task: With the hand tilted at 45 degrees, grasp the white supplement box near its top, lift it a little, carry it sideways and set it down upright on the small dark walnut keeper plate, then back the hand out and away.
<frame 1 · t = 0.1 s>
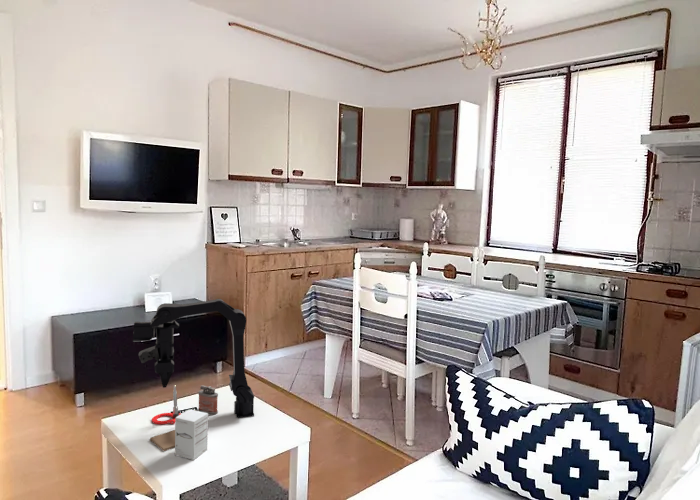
hand: (164, 382, 177), 15 cm above the table, tool pointing down, fingers open, 9 cm apart
red-brown boxy piece: (207, 412, 188), on the table
supplement box: (191, 453, 158), on the table
tow hook: (165, 420, 180), on the table
walnut keeper plate: (171, 440, 165), on the table
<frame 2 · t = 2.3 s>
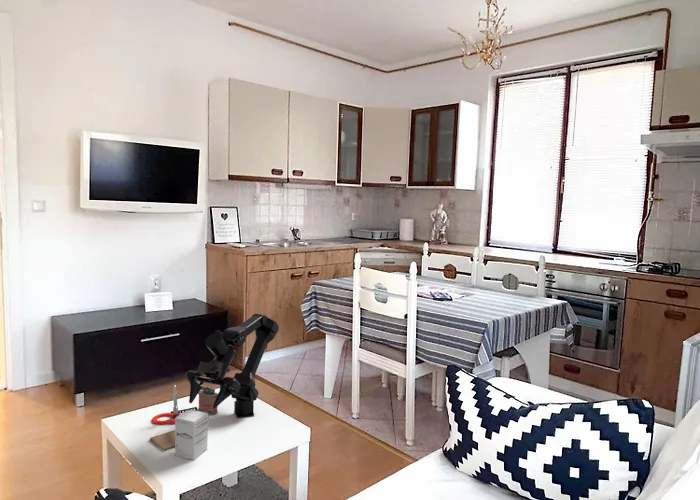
hand: (201, 405, 162), 13 cm above the table, tool tilted 45°, fingers open, 9 cm apart
nothing on the table moved.
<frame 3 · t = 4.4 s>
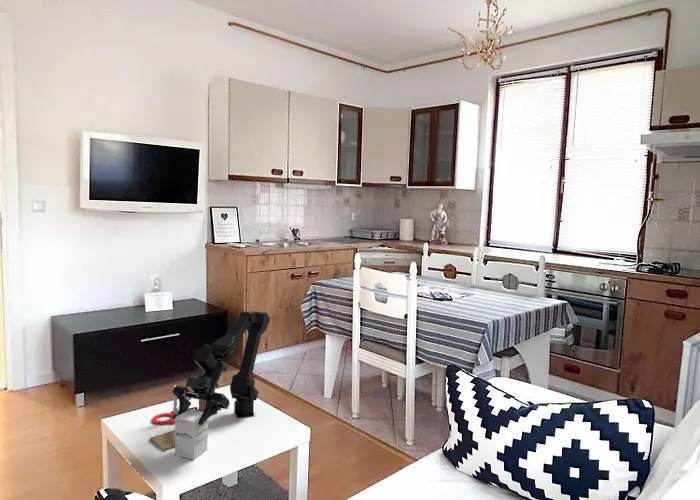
hand: (188, 422, 155), 11 cm above the table, tool tilted 45°, fingers closed on supplement box, 7 cm apart
supplement box: (191, 453, 158), on the table, touching gripper
everything else where it was.
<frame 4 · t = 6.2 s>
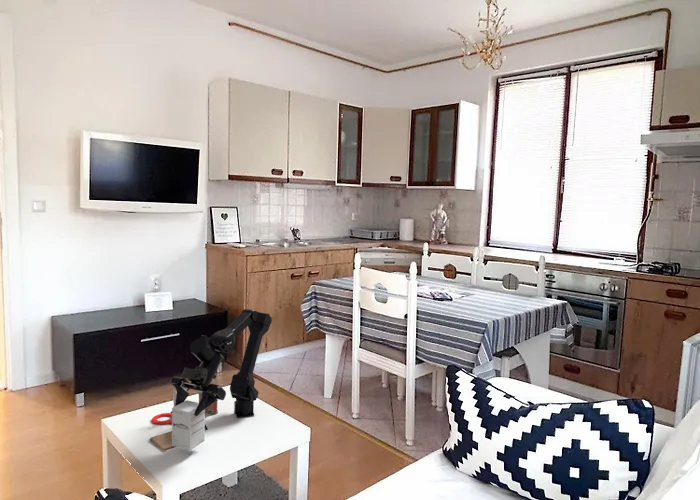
hand: (185, 413, 156), 13 cm above the table, tool tilted 45°, fingers closed on supplement box, 7 cm apart
supplement box: (188, 444, 158), point 2 cm above the table, touching gripper
everything else where it was.
when the fingers open (12 cm above the table, at t = 8.1 s): supplement box stays where it is, resting on walnut keeper plate.
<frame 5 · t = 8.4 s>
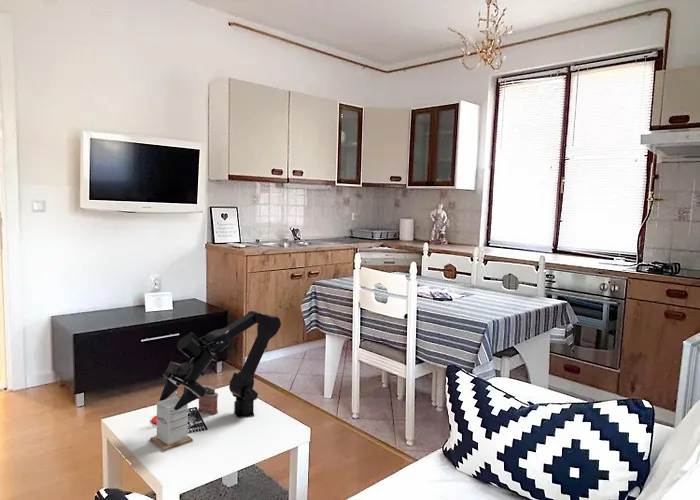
hand: (167, 405, 163), 13 cm above the table, tool tilted 45°, fingers open, 9 cm apart
supplement box: (172, 438, 165), point 1 cm above the table, touching walnut keeper plate
everything else where it was.
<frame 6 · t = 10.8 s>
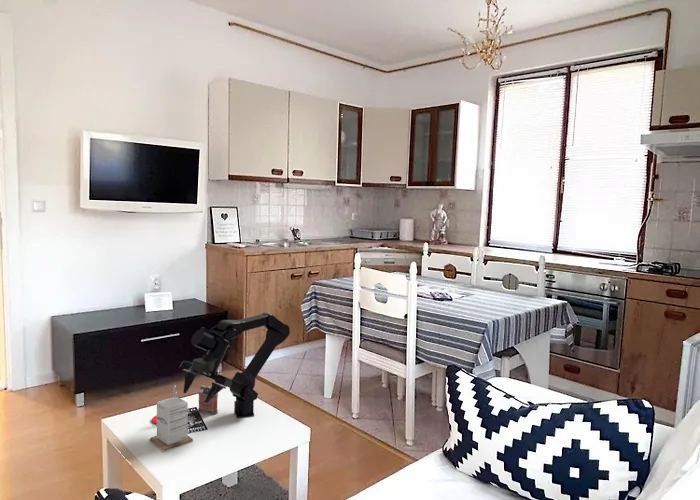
hand: (195, 397, 170), 12 cm above the table, tool tilted 30°, fingers open, 9 cm apart
nothing on the table moved.
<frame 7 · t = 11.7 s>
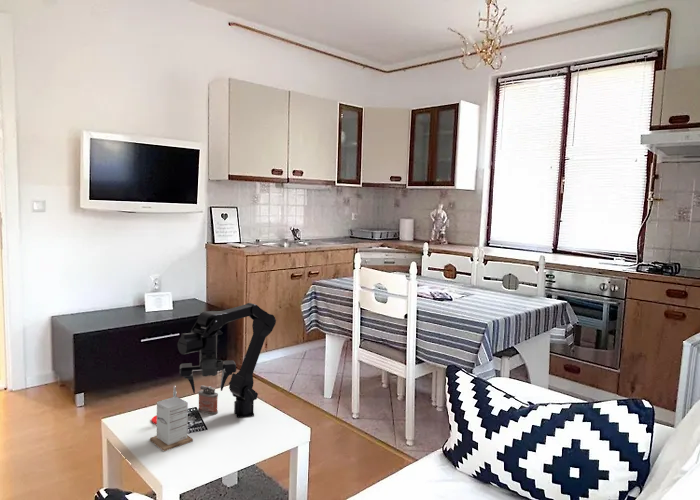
hand: (207, 391, 174), 13 cm above the table, tool pointing down, fingers open, 9 cm apart
nothing on the table moved.
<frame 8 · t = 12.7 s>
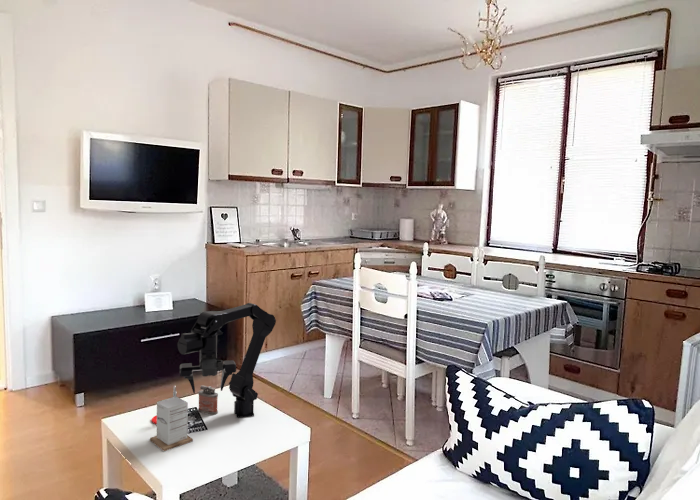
hand: (207, 391, 174), 13 cm above the table, tool pointing down, fingers open, 9 cm apart
nothing on the table moved.
at the end: supplement box 0.2 cm off-centre on the walnut keeper plate, point 0.6 cm above the walnut keeper plate's base; supplement box tilted 0°; the gripper is holding nothing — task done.
